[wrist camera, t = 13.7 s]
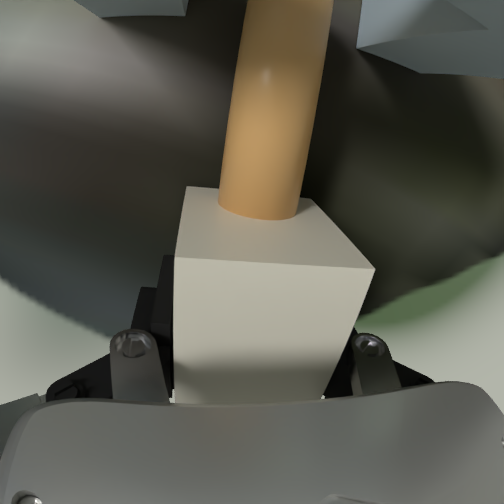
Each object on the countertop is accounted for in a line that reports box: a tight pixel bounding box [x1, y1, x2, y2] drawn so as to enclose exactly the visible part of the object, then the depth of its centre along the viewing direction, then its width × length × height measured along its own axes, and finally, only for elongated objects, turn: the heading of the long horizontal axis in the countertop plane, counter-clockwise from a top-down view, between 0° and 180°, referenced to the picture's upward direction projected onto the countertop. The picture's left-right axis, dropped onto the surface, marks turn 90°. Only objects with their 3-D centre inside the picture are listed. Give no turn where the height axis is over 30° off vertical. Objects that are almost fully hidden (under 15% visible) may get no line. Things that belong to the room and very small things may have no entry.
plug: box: [173, 0, 375, 404], centre depth 9 cm, size 14×4×5 cm, turn 171°
